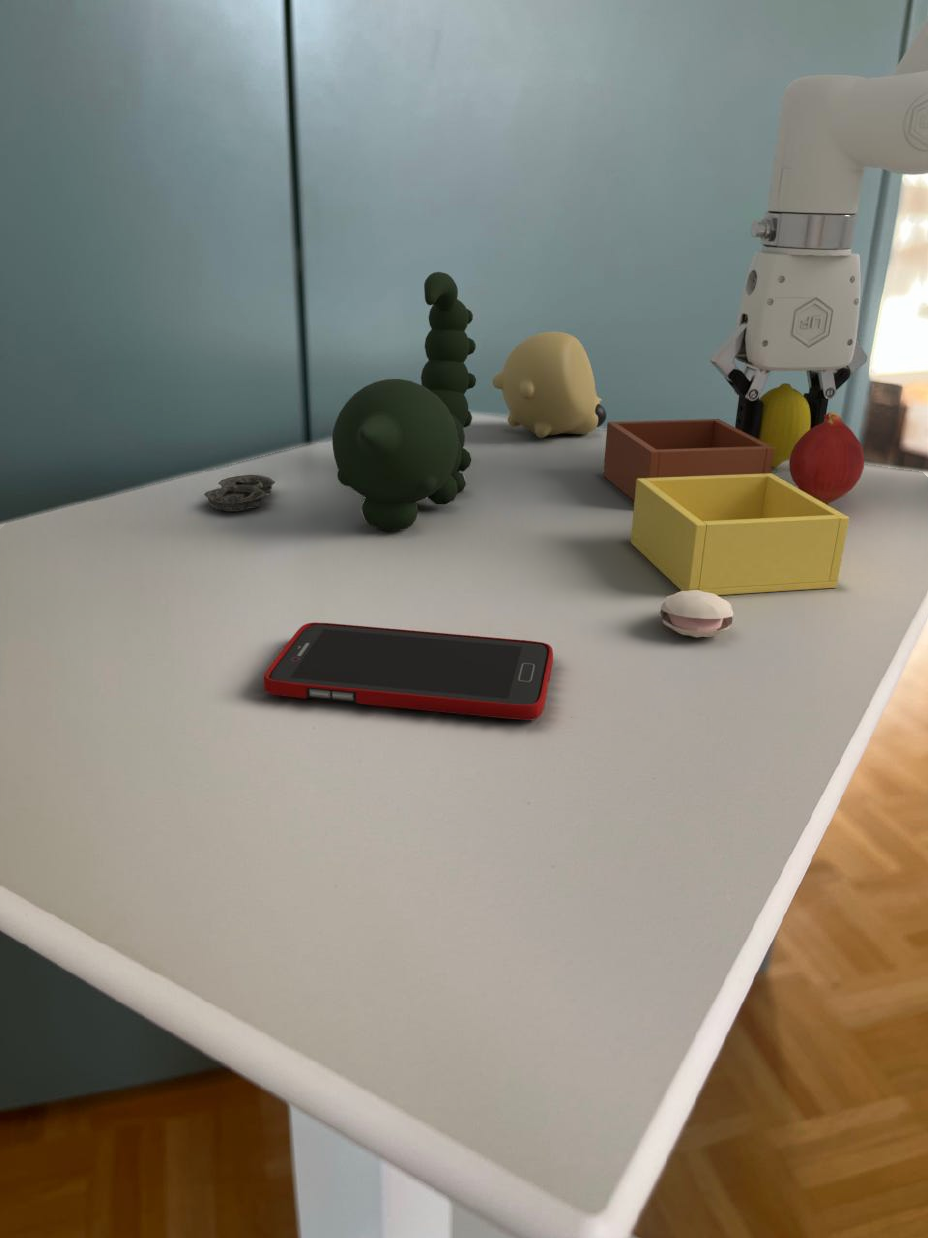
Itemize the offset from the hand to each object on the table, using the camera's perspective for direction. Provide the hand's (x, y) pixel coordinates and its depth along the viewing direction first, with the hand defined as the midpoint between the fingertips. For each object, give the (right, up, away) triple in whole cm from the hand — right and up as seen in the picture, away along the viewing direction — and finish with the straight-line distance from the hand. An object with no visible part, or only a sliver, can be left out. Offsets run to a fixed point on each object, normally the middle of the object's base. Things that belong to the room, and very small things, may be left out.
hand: (777, 437), depth 95 cm
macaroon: (-16, -18, -34) cm, 41 cm away
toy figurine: (-34, -8, -12) cm, 37 cm away
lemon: (0, -3, +1) cm, 3 cm away
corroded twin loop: (-48, -8, -12) cm, 50 cm away
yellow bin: (-11, -13, -23) cm, 29 cm away
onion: (0, -8, -10) cm, 13 cm away
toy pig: (-21, +2, +12) cm, 24 cm away
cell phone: (-33, -21, -41) cm, 56 cm away
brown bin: (-11, -6, -7) cm, 14 cm away
